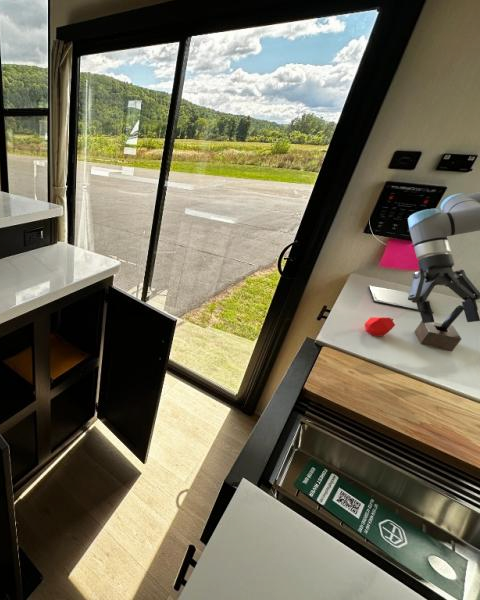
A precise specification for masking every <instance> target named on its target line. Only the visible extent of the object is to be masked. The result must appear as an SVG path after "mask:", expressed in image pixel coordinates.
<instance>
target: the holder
mask: <svg viewBox="0 0 480 600" xmlns="http://www.w3.org/2000/svg"><path fill="white" fill-rule="evenodd" d="M442 324H443V322H442V323H441V322H437V321H434V322H429V323H423V322H422V320H421V321H420V323H419V324H418V325H417V326H416V329H414V334H415V336H416V338H417V339H418V343H419V344H420V345H424V346H428V347H431V348H436V349H440V350H445V351H449V352H453V351H454V349H455V348H456V347H457V345H458V344H459V343H460V342H461V340H462V337H461V335H460V334H459V332H458V331H457V329H456V328H455V326H454V325H452V324H451V325H450V326H449V327H448V328H447V330H446V331H445V332H444V331H439V330H438V328H439V327H440V326H441V325H442Z"/></svg>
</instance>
